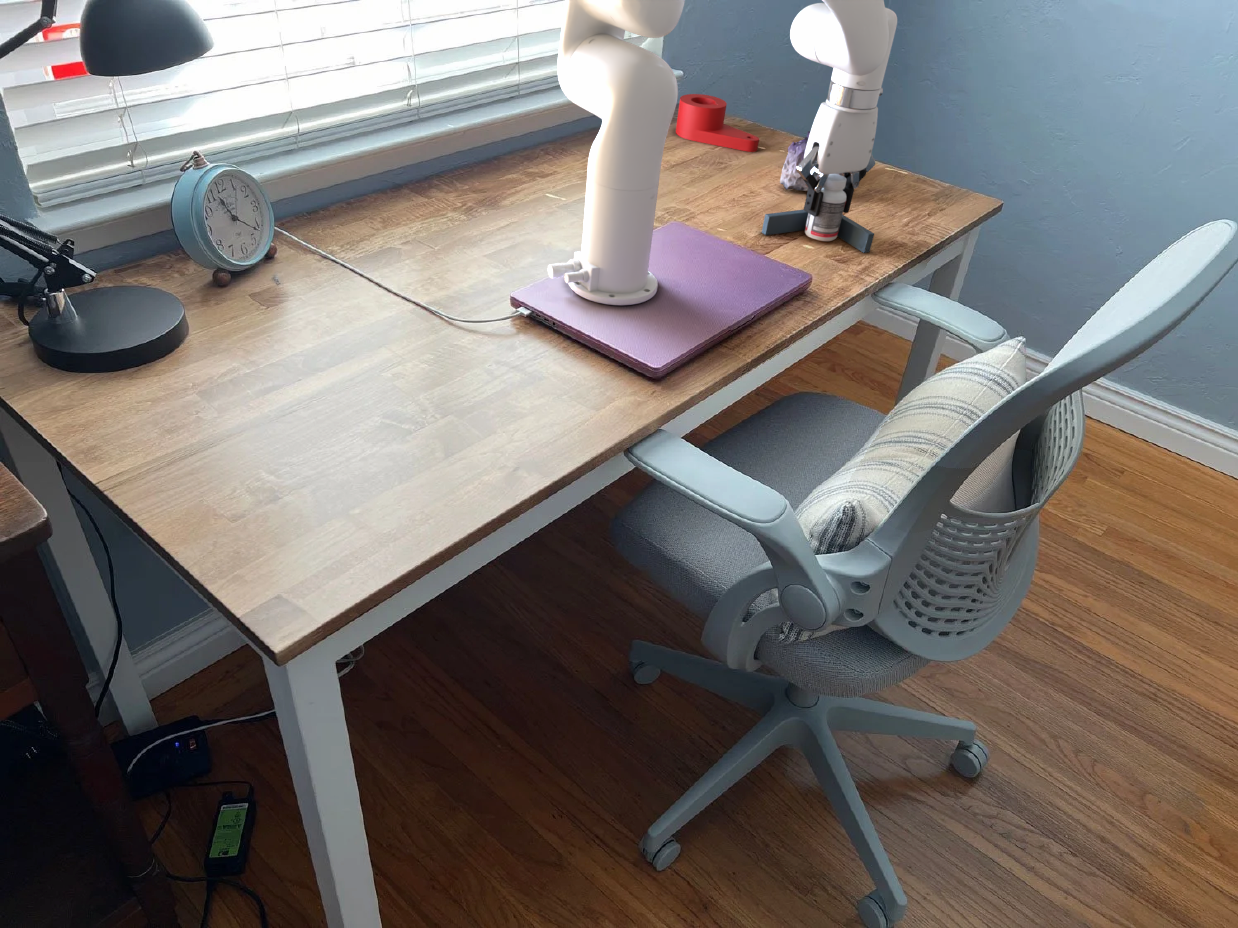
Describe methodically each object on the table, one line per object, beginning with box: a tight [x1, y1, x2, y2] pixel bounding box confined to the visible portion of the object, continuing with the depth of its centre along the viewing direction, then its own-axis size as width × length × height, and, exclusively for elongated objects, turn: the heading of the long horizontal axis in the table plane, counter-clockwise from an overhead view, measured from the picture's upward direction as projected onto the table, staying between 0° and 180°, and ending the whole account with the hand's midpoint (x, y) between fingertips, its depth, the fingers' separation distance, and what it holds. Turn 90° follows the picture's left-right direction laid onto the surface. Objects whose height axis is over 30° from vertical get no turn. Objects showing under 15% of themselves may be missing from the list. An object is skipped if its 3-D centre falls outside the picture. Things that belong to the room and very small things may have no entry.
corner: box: [761, 208, 875, 254], centre depth 153 cm, size 13×12×3 cm
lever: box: [675, 93, 760, 153], centre depth 191 cm, size 18×9×7 cm, turn 57°
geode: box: [779, 130, 842, 192], centre depth 175 cm, size 20×12×10 cm, turn 155°
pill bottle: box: [804, 174, 846, 242], centre depth 153 cm, size 5×5×10 cm
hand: (826, 210), depth 153 cm, fingers closed on pill bottle, 5 cm apart
